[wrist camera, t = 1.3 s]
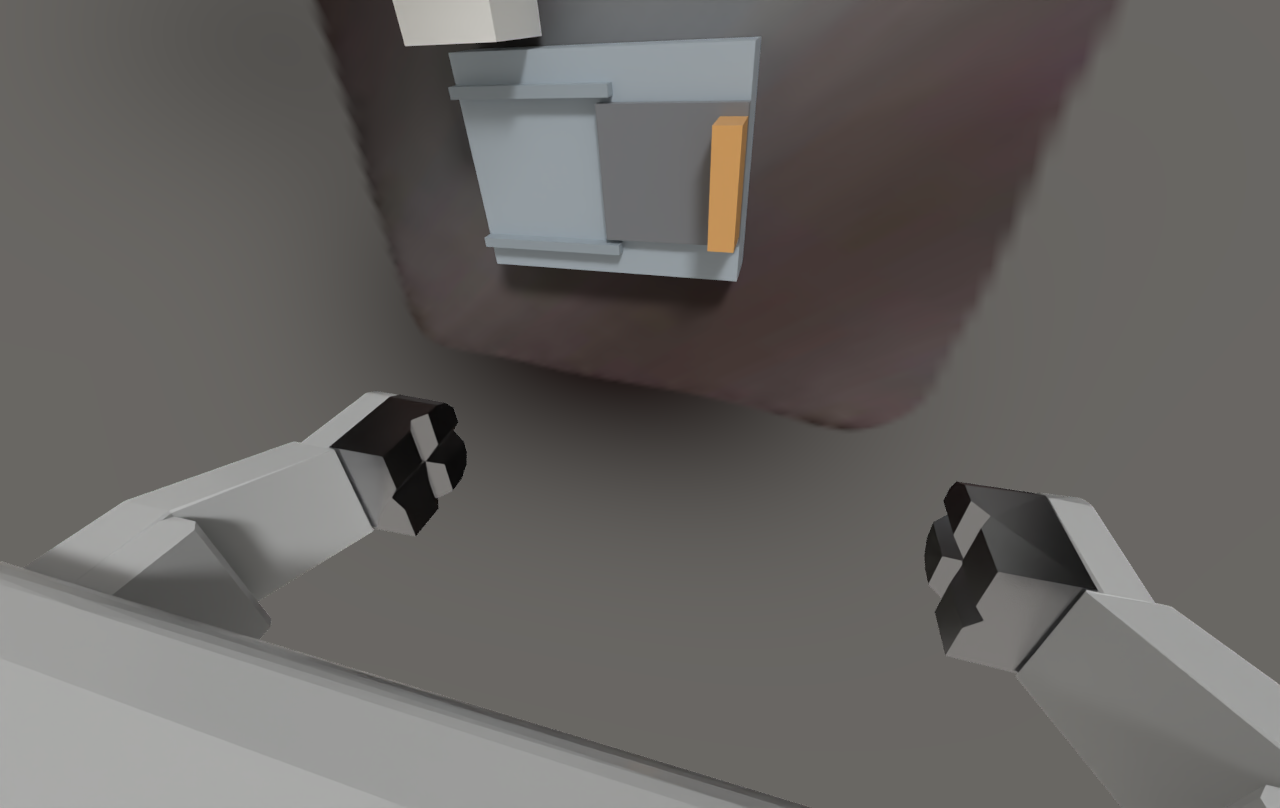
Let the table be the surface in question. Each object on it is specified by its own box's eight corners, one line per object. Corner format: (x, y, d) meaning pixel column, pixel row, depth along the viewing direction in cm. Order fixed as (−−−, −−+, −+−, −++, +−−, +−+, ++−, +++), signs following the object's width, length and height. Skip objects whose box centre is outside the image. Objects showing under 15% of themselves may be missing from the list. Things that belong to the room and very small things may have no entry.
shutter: (598, 102, 27) (578, 111, 24) (750, 100, 25) (743, 110, 22) (610, 236, 31) (593, 254, 29) (739, 243, 29) (732, 263, 27)
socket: (476, 48, 29) (439, 54, 27) (761, 36, 25) (753, 41, 23) (517, 247, 37) (491, 268, 34) (742, 261, 33) (734, 287, 30)
